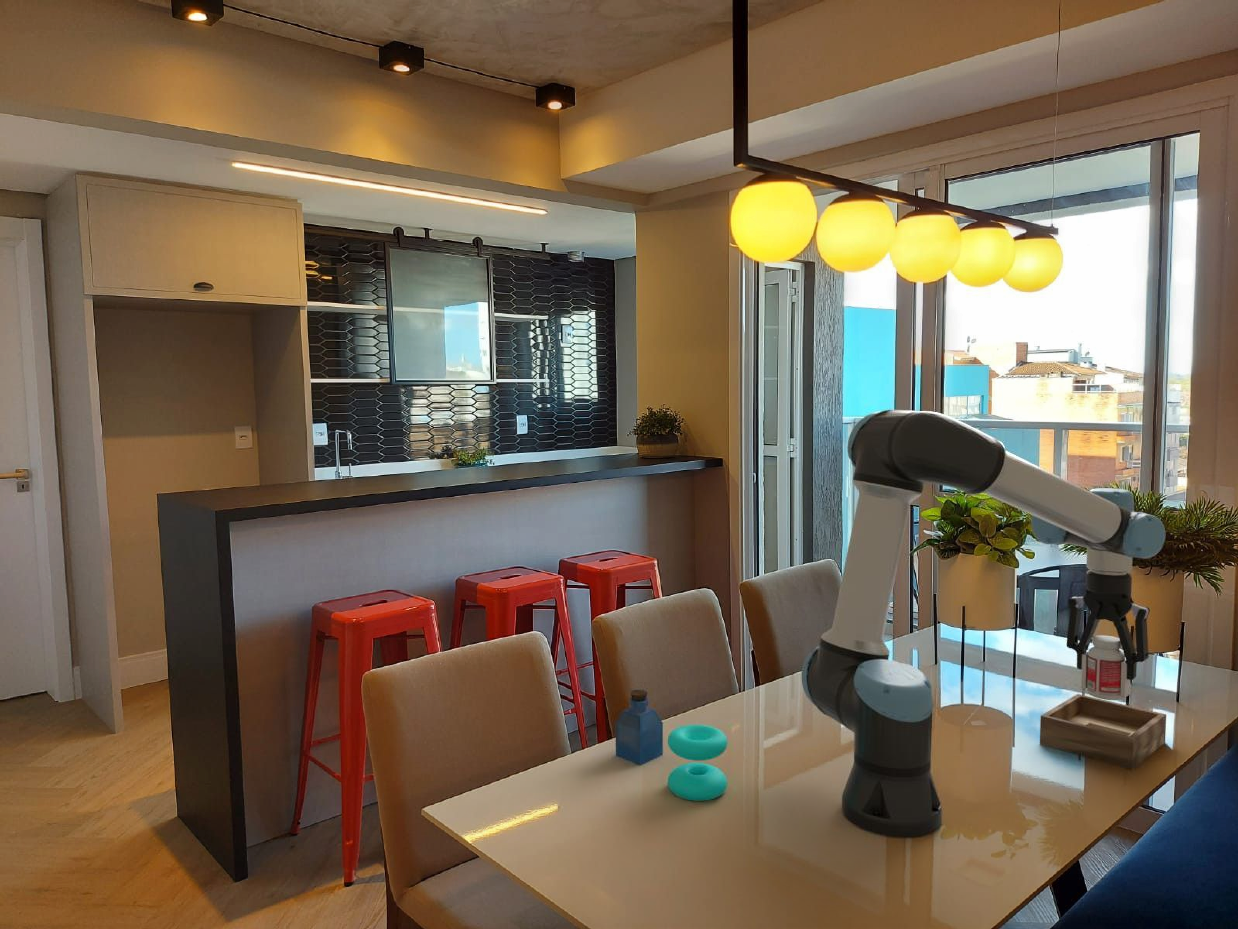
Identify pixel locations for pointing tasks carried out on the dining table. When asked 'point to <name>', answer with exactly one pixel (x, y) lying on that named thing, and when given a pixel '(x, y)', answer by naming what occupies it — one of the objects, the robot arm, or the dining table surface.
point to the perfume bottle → (639, 731)
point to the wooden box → (1103, 730)
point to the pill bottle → (1105, 668)
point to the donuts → (697, 777)
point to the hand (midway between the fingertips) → (1105, 690)
